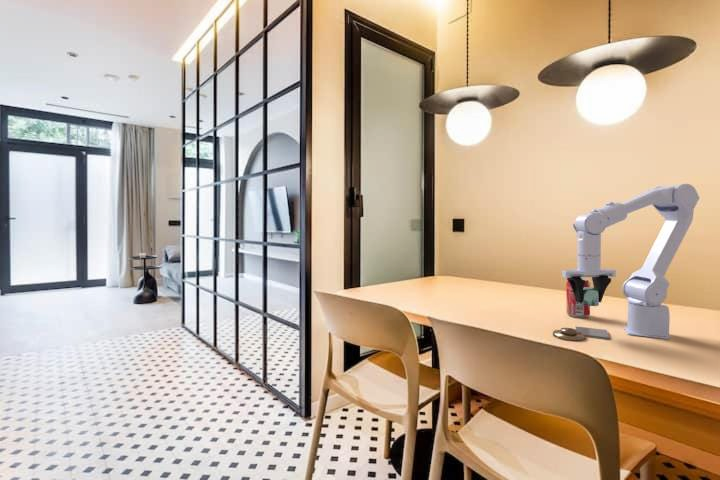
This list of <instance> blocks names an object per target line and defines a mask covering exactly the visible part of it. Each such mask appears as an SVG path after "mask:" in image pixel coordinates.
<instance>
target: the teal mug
mask: <svg viewBox="0 0 720 480" xmlns="http://www.w3.org/2000/svg"><path fill="white" fill-rule="evenodd" d="M599 303H600V302H599V289H597V288H594V287H591V286H590V287H584V288H583V301H582V303H579V304H581V305H586V306H590V307H597V306H599Z"/></svg>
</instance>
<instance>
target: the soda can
mask: <svg viewBox="0 0 720 480" xmlns="http://www.w3.org/2000/svg"><path fill="white" fill-rule="evenodd" d="M581 278H582V280H585V284H584V287H591V283H590V282H589V279H588V278H587V277H581ZM565 286H566V289H565V293H566V300H565V301H566V305H565V307H566V314H567V315H568V316H569V317H572V318H578V319H579V318H580V319H584V318H585V319H586V318H589V316H590V315H591V306H586V305H581V304H579V302H576V300H575V296H574V292H573V290H572V287H571V285H570V283H569V282H568V280H567V281H566V285H565Z"/></svg>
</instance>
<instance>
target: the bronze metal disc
mask: <svg viewBox="0 0 720 480" xmlns="http://www.w3.org/2000/svg"><path fill="white" fill-rule="evenodd" d="M552 336H553V337H554V338H556V339H558V340H562V341H569V342H581V341H584V340H586V339H585V338H586V337H585V335H584V334H582V333H580V332H577V330H576V328H573V327H572V328H571V327H561V328H560V329H555V330H553V331H552Z"/></svg>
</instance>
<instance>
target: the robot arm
mask: <svg viewBox="0 0 720 480" xmlns="http://www.w3.org/2000/svg"><path fill="white" fill-rule="evenodd" d="M699 200H700V196H699V194H698V191H697V189H696V188H695V187H694V185H692V184H689V183H682V184H677V185H668V186H667V185H665V186H656V187H654V188H651V189H648V190H646V191H644V192H641V193H640V194H638V195H636V196H635V197H632V198H630V199H628V200H626V201H624V202H622V203H620V202H618V201H614V202H613V201H608V202H607V203H605V205H604V206H602V207H600V208H598V209H596V208H594V209H591V210H590V213H583V214H580V215H578V216H577V218H576V219H575V221H574V223H573V224H572V228H573V230H574V231H575V232H576V238H577V250H576V251H577V253H576V254H577V261H576V263H577V268H576V269H569V270H568V269H567V270H562V271H561V273H562V274H561V276H562V278H565V279H567V281H568V282H569V283H570V285H571V287H572V290H573V292H574V296H575V300H576V302H579V303H582V301H583V288H584V284H585V280H582V278H591V280H592V284H593V288H597V289H599V303H602V302H603V298H604V295H605V292H606V289H608V286H609V285H610V283H612V278H615V277H617V276H616V275H617V271H616V270H615V269H612V268H611V269H608V268H607V269H606V268H605V269H604V268H603V269H601V264H602V263H601V257H602V250H601V248H602V245H601V244H602V234H603V233H604V232H605V230H606V229H607V228H609V227H611V226H613V225H615V224H618V223H620V222H622V221H625V220H626V219H627V217H628V215H629V214H631V213H634V212H636V211H639V210H641V209H643V208H646V207H649V206H652V207H654V209H655V210H656V211H657V212H658V213H659V214H660V215H661V217H663V218H664V220H665V221H664V224H663V226H662V228H661V230H660V231H659V233H658V236H657V237H656V239H655V241H654V243H653V245H652V247H651V249H650V251H649V253H648V255H647V257H646V259H645V260H644V263H643V265H642V266H641V268H640V269H637V270H635V271H634V272H632V273H631V275H630V277H629V278H628V279H625V281H624V282H623V284H622V287H621V289H622V293H623V295H624V296H625V297H626V301H627V325H625V326H623V328H624V330H625V331H626V334H627V335H630V336H638V337H639V336H640V337H647V338H648V337H649V338H657V339H662V340H663V339H665V340H669V339H670V323H671V322H670V318H671V317H670V308H669V306H668V305H666V304H663V303H664V302H665V300H666V298H667V296H668V288H669V286H670V282H669V281H668V280H667V279H666V277H665V275H666V274H667V271H668V269H669V267H670V265H671V263H672V261H673V259H674V257H675V255H676V253H677V251H678V249H679V247H680V246H681V244H682V242H683V240H684V238H685V236H686V234H687V232H688V230H689V229H690V226H691V224H692V222H693V219H694V211H695V210H694V209H695V208H696V205H697V204H698V201H699Z"/></svg>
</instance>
